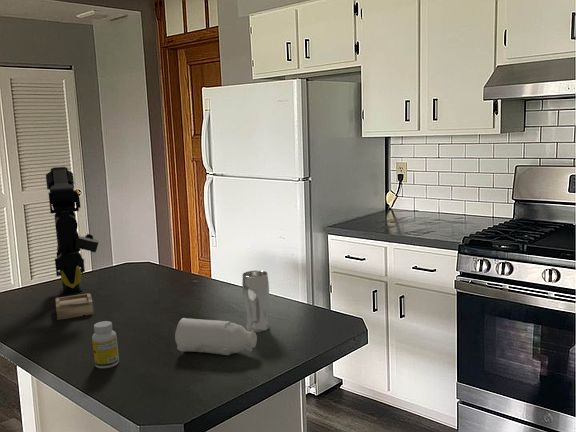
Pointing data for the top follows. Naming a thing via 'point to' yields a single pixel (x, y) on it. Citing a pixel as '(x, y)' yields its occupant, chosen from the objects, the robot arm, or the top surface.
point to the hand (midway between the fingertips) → (71, 281)
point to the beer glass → (256, 299)
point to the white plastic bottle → (213, 336)
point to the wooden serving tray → (74, 306)
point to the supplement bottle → (105, 345)
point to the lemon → (77, 278)
